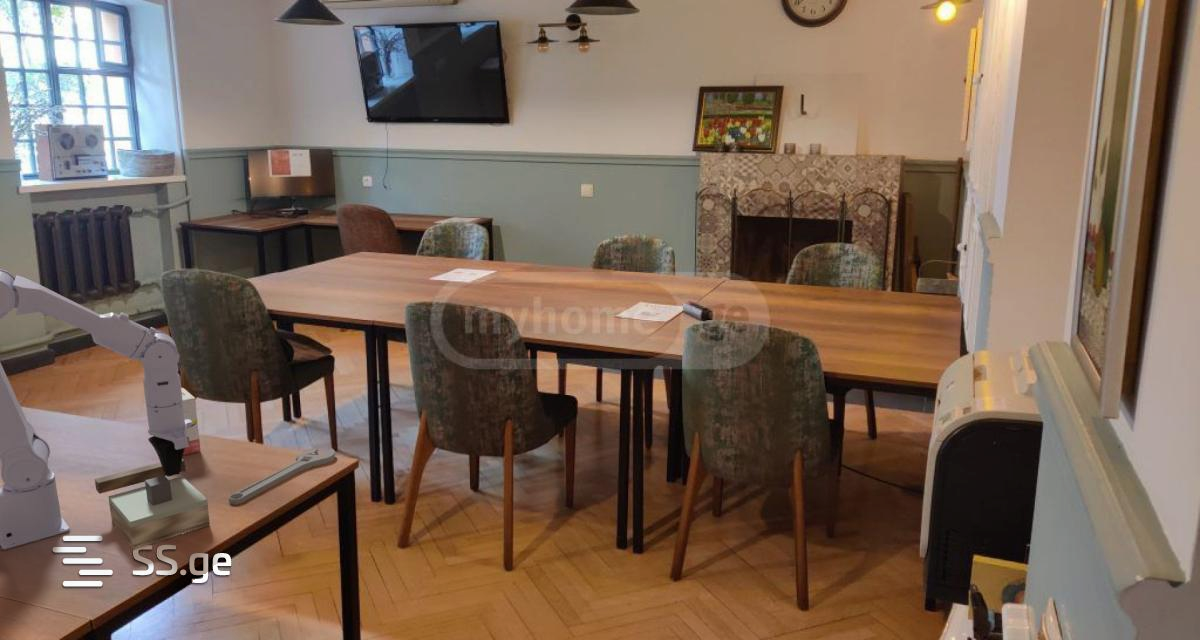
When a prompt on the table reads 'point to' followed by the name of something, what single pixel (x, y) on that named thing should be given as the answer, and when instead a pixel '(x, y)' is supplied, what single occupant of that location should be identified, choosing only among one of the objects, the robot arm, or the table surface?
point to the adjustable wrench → (282, 474)
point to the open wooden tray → (160, 526)
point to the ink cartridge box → (191, 414)
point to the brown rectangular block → (131, 477)
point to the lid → (157, 500)
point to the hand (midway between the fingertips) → (172, 474)
